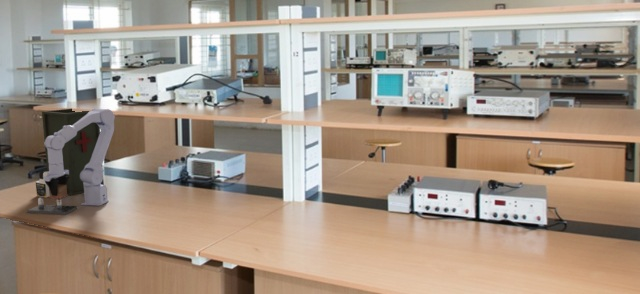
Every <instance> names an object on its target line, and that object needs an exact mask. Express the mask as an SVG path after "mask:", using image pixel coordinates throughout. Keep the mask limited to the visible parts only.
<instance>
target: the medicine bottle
mask: <svg viewBox="0 0 640 294" xmlns="http://www.w3.org/2000/svg"><path fill="white" fill-rule="evenodd" d="M47 173H49V171H47V170H41V171H39V173H38V174H39V175H38V176H39V177H38V178H39V180H37V181H35V191H36V196H37V197H39V198H40V197H41V198H50V195H49V187H48V185H47V184H46V183H45V181H44V177H45V176H47Z"/></svg>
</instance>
